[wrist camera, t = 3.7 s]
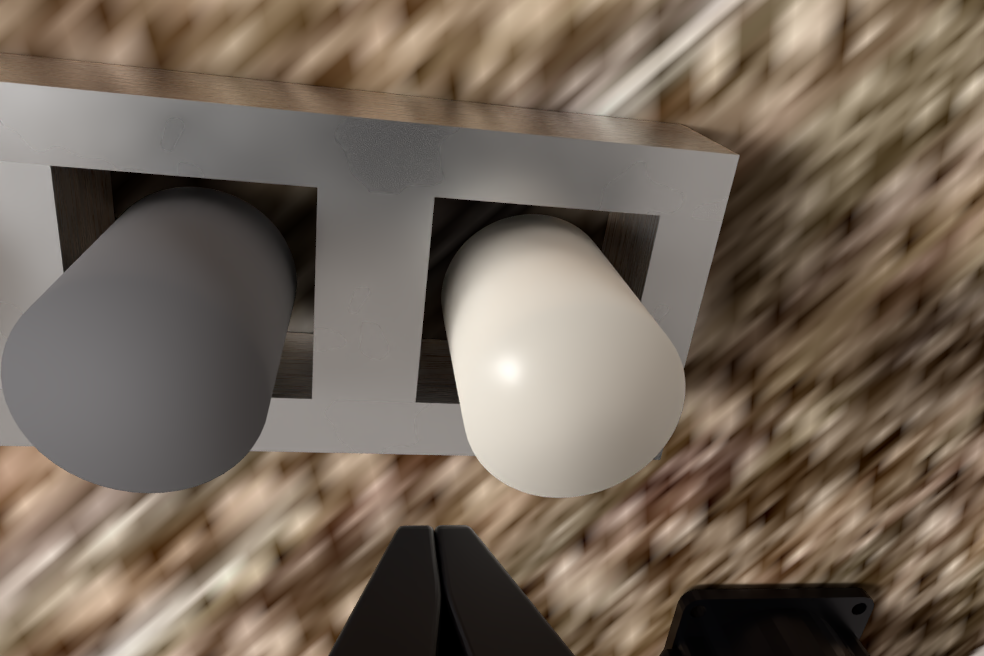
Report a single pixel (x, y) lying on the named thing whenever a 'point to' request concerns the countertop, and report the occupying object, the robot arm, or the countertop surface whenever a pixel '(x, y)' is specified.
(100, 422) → the button charcoal
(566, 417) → the button ivory
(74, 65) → the button strip
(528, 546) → the countertop surface
